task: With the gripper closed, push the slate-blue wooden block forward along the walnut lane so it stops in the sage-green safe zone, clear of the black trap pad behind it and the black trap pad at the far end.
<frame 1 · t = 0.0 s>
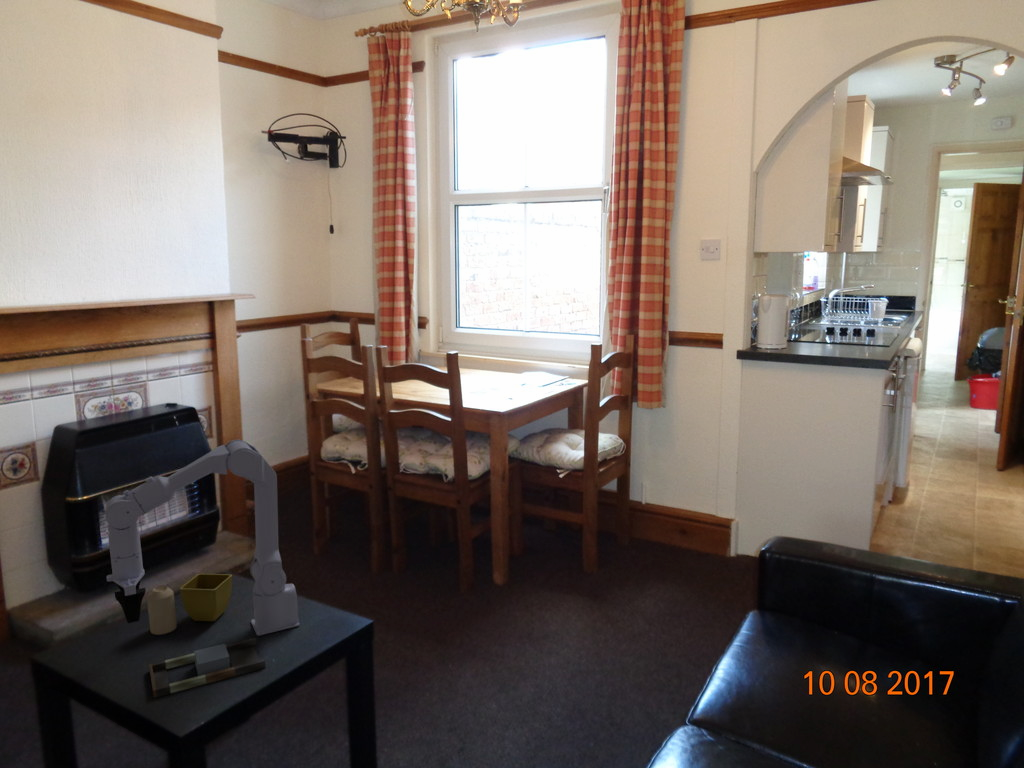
hand: (132, 613, 156), 10 cm above the table, tool pointing down, fingers open, 7 cm apart
flower pot: (209, 617, 176), on the table
block: (212, 669, 154), resting in trap lane
trap lane: (207, 669, 153), on the table
candle: (163, 629, 170), on the table
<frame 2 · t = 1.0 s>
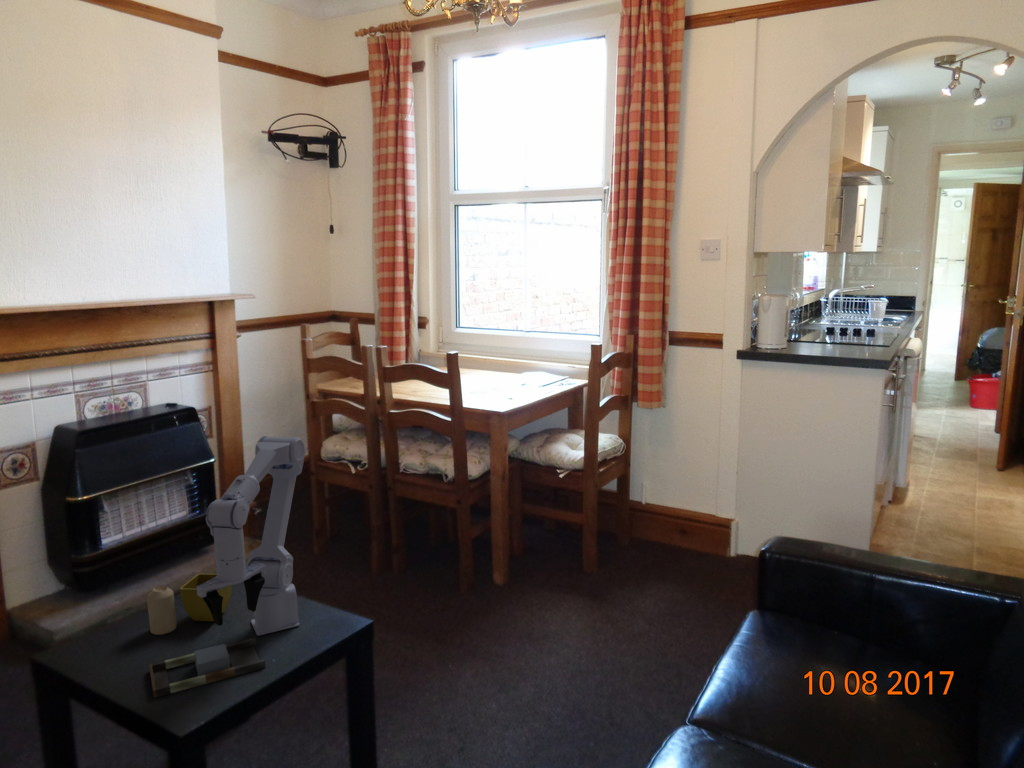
hand: (235, 616, 156), 9 cm above the table, tool pointing down, fingers open, 7 cm apart
nothing on the table moved.
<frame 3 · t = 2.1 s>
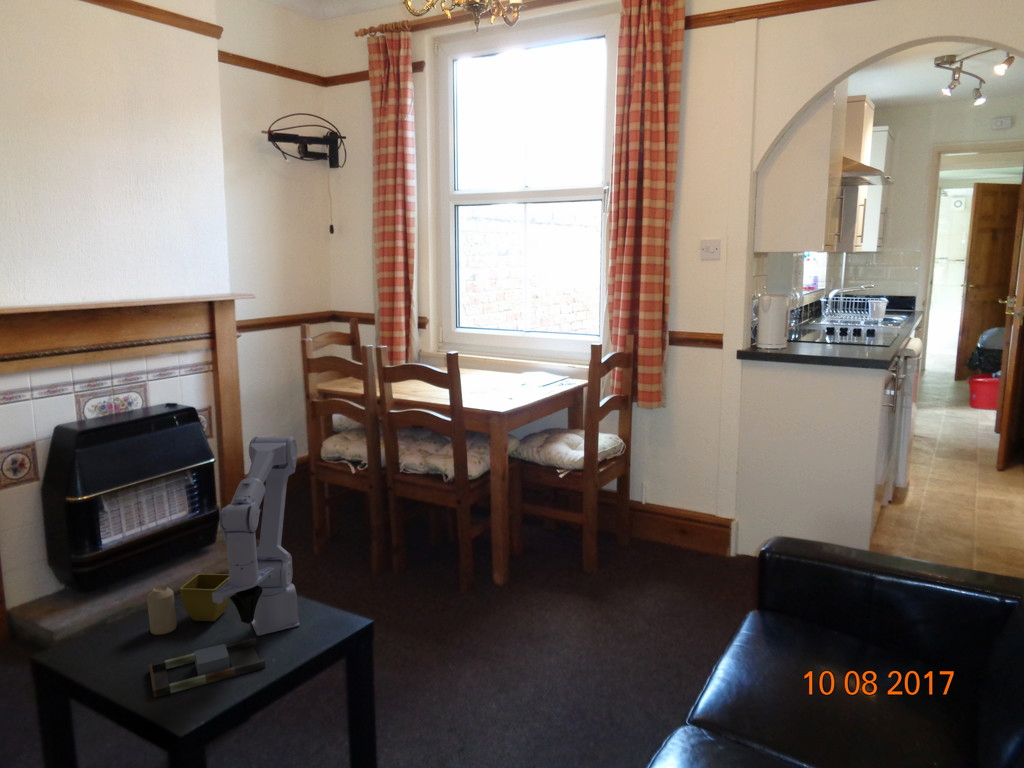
hand: (247, 621, 156), 8 cm above the table, tool pointing down, fingers closed
nothing on the table moved.
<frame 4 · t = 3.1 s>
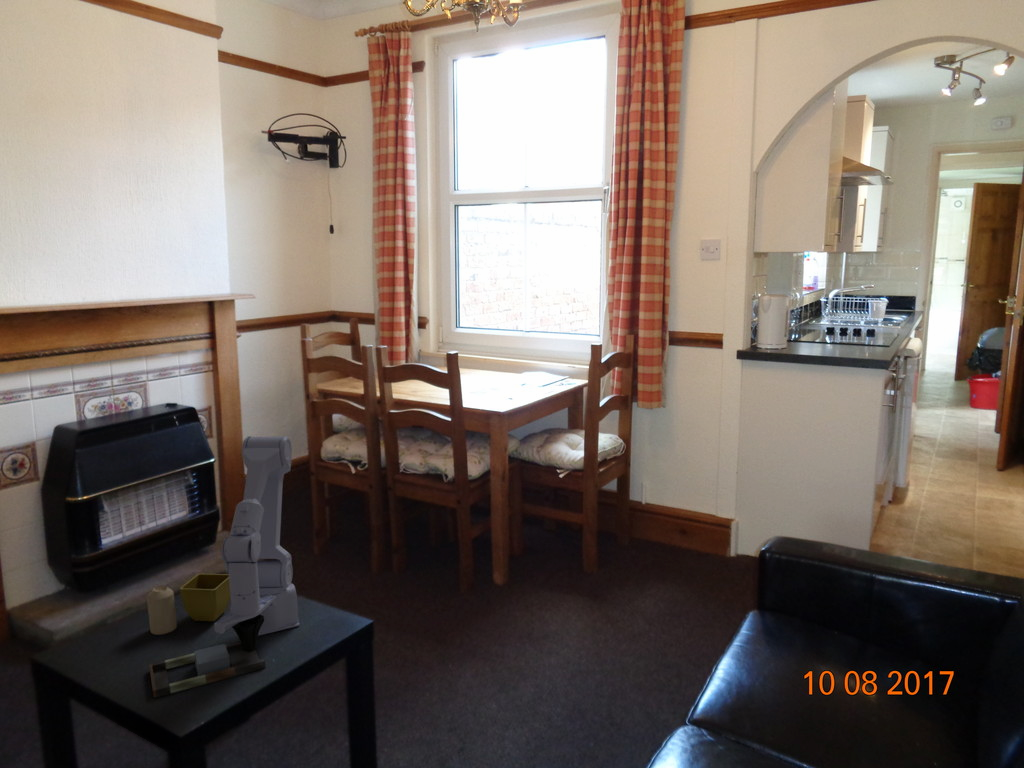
hand: (249, 649, 157), 2 cm above the table, tool pointing down, fingers closed
nothing on the table moved.
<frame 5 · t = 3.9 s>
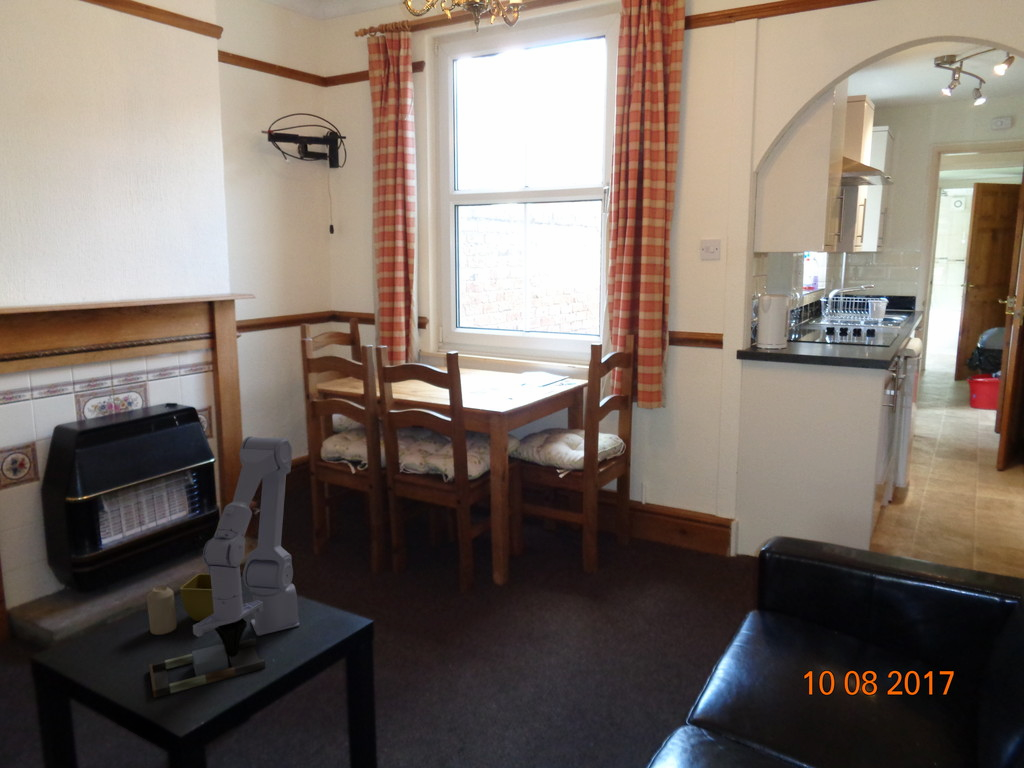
hand: (232, 654, 155), 2 cm above the table, tool pointing down, fingers closed
block: (210, 669, 153), resting in trap lane, touching gripper
everything else where it was.
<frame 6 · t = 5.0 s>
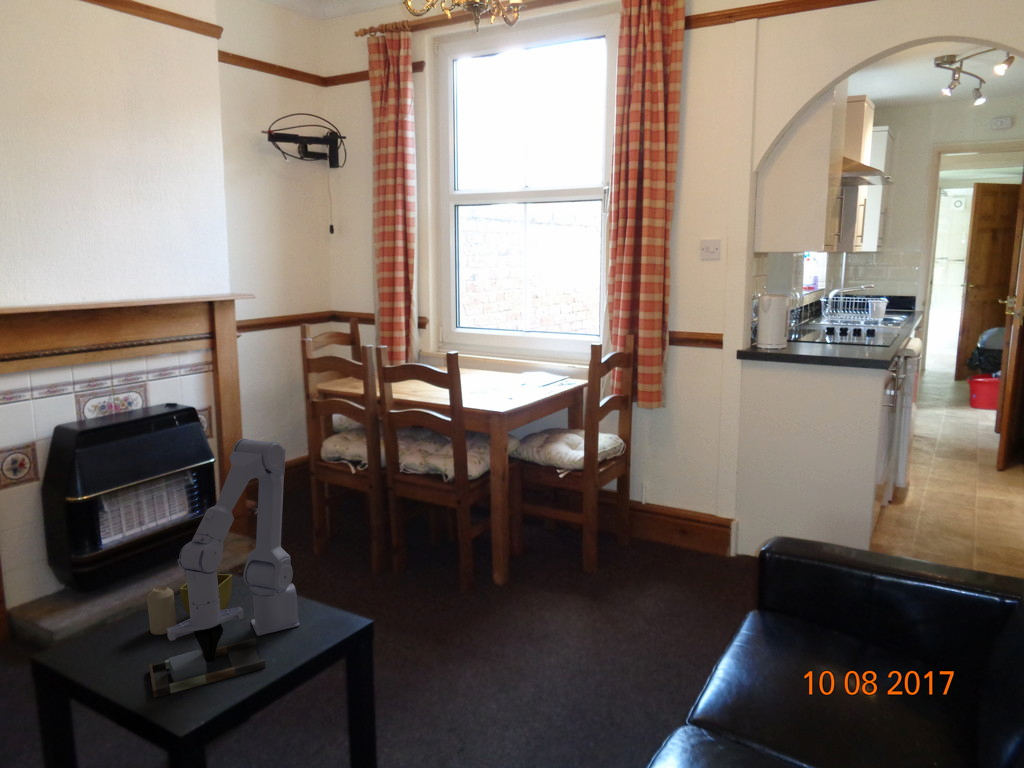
hand: (209, 660, 153), 2 cm above the table, tool pointing down, fingers closed
block: (188, 675, 151), resting in trap lane
everything else where it was.
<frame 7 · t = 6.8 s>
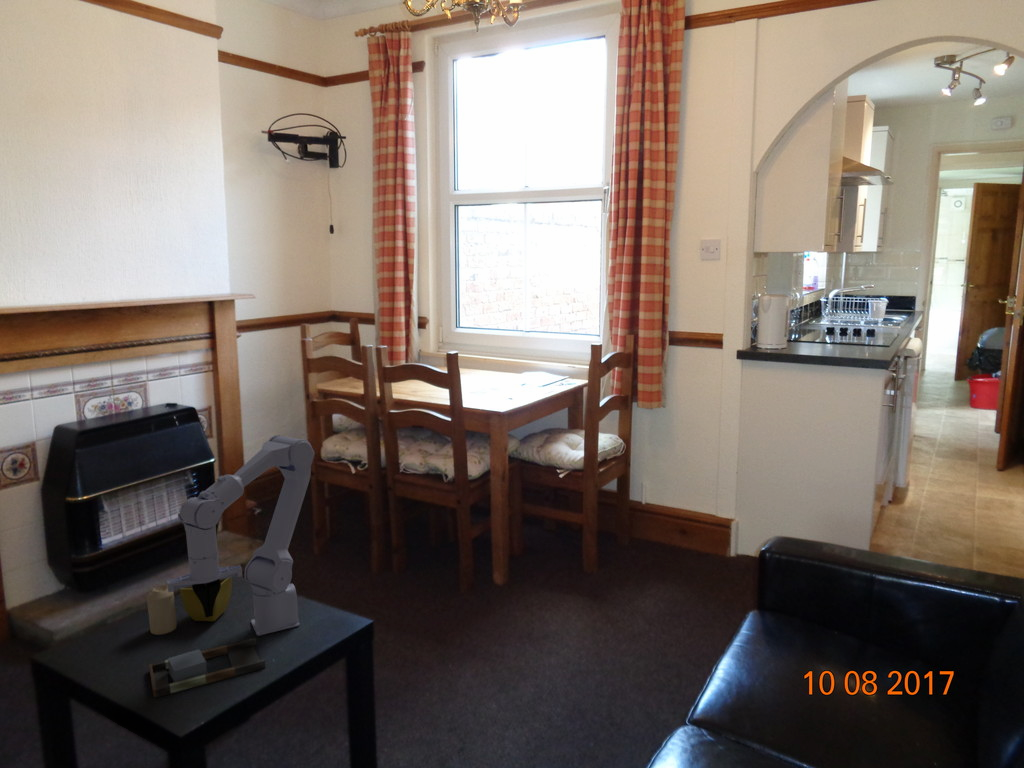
hand: (208, 614, 157), 9 cm above the table, tool pointing down, fingers closed
nothing on the table moved.
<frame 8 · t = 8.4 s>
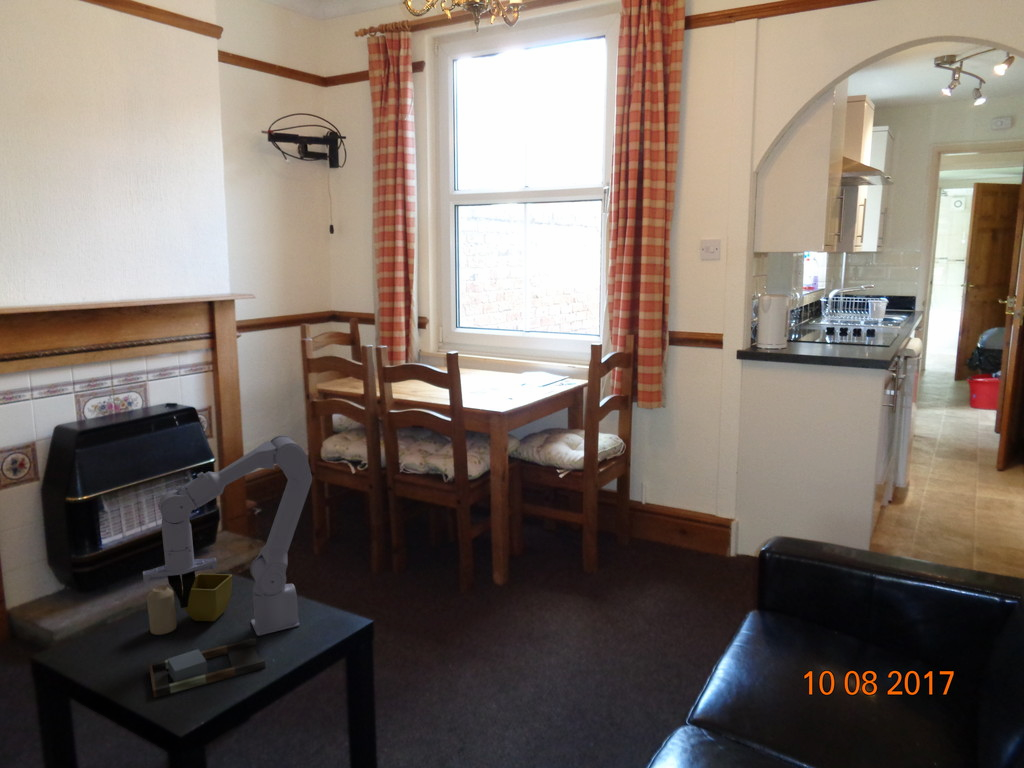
hand: (184, 605, 161), 9 cm above the table, tool pointing down, fingers closed
nothing on the table moved.
at the end: block 0.3 cm from the target spot, resting in trap lane; block tilted 0°; block moved 4.7 cm from its start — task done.
